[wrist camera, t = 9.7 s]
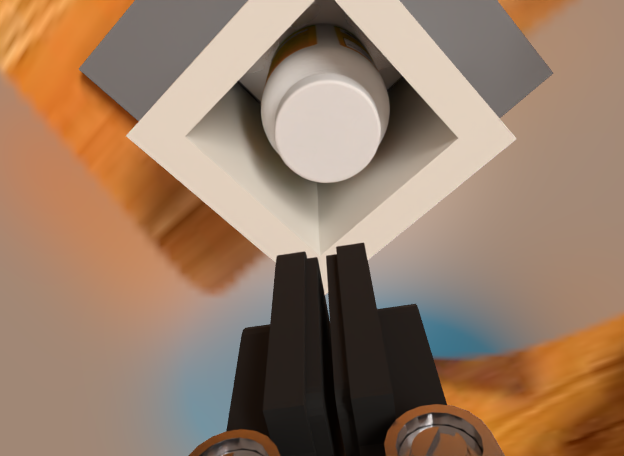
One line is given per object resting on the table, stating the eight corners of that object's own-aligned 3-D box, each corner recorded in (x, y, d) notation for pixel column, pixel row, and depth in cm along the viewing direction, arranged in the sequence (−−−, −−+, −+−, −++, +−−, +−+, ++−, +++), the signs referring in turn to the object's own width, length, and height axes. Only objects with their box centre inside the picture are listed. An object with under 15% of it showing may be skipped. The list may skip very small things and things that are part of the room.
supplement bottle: (268, 124, 31) (253, 197, 22) (270, 18, 28) (254, 55, 20) (367, 129, 31) (391, 204, 22) (378, 25, 29) (409, 64, 20)
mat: (546, 69, 32) (553, 73, 31) (314, 265, 37) (314, 273, 36) (320, -221, 26) (321, -227, 25) (84, 65, 31) (78, 69, 30)
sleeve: (448, 72, 31) (516, 138, 21) (315, 192, 34) (319, 299, 24) (319, -79, 27) (326, -86, 17) (184, 70, 31) (125, 136, 21)
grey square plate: (398, 72, 31) (401, 76, 30) (316, 149, 33) (316, 155, 32) (318, -18, 29) (318, -16, 28) (235, 70, 31) (232, 74, 30)
